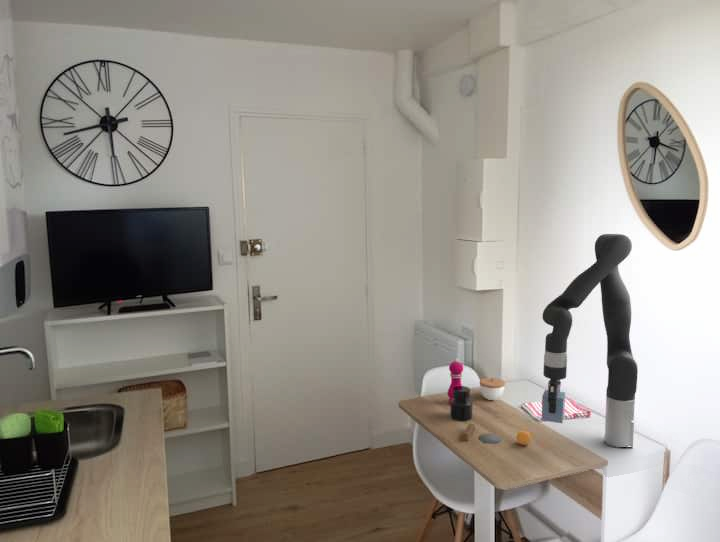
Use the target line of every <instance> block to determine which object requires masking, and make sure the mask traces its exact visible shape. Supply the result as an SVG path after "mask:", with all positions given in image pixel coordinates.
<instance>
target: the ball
mask: <svg viewBox="0 0 720 542" xmlns="http://www.w3.org/2000/svg"><path fill="white" fill-rule="evenodd" d="M516 440H517V442H518V443H519V444H520V445H522V446H526V445H528V444H530V443H531V441H532V435H531V434H530V432H529V431H527V430H524V429H522V430H519V431H518V432H517V433H516Z"/></svg>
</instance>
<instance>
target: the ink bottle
mask: <svg viewBox="0 0 720 542" xmlns="http://www.w3.org/2000/svg"><path fill="white" fill-rule="evenodd" d="M470 398H471V388H470V387H468V386H463V385H462V386H456V387H454V388H453V399H452V400H451V402H450V404H449V407H450V410H449V412H450V415H449V416H450V418H451V419H452V420H455V421H461V422H467V420H468V421H470V420H472V418H473V410H474V409H473V408H474V407H473V403H474V402H473V401H472V400H471V399H470Z"/></svg>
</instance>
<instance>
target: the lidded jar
mask: <svg viewBox="0 0 720 542" xmlns="http://www.w3.org/2000/svg"><path fill="white" fill-rule="evenodd" d="M505 384H506V382H505V381H504V379H499V378H495V377H485V378H481V379H479V389H480V390H479V391H480V393H481V395H482V396H483V398H484V399H485V398H486V399H488V400H487V401H489V400H493V401H492V402H495V401H494V400H497V401H499V400H500V399H501V398H502V396H503V395H504V393H505ZM486 399H485V400H486Z"/></svg>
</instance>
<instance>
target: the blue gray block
mask: <svg viewBox="0 0 720 542" xmlns="http://www.w3.org/2000/svg"><path fill="white" fill-rule="evenodd" d="M541 399H542V401H541V402H542V420H543V421H544V422H550V423H558V424H563V423H564V420H565V419H564V409H565V399H566V392H564V391H560V392H559V395H558V397H557V398H556V401H557V403H556V412H555V414H553V413H549V402H548V389H544V392H543V394H542V396H541ZM550 399H553V400H554V397H552V396H551V398H550ZM563 419H564V420H563Z"/></svg>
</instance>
